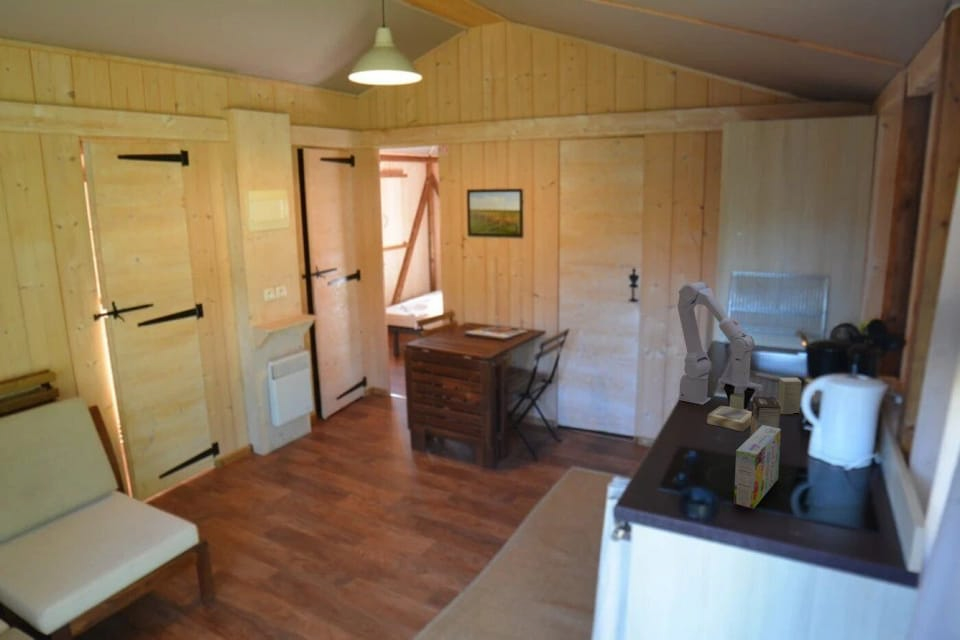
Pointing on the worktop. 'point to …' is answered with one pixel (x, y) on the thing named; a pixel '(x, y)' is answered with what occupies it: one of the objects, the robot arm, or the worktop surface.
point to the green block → (737, 400)
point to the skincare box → (789, 395)
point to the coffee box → (764, 413)
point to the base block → (730, 418)
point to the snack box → (757, 466)
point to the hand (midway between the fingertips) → (738, 406)
